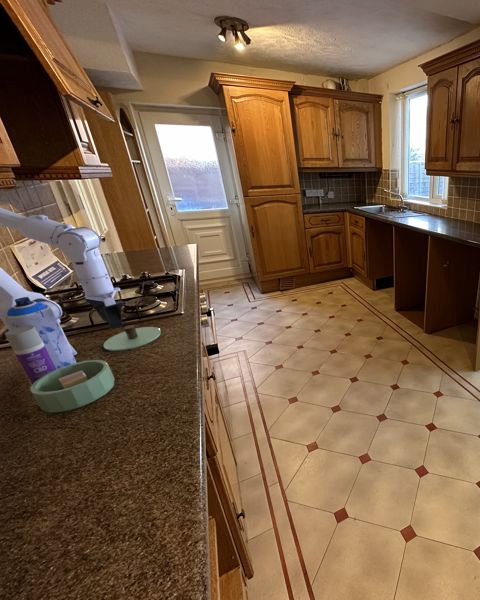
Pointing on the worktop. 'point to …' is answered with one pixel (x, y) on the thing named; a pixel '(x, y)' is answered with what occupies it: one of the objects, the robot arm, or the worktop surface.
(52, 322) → the aerosol can
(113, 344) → the lid
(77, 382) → the block
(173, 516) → the worktop surface
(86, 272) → the robot arm
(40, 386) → the pot
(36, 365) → the container
